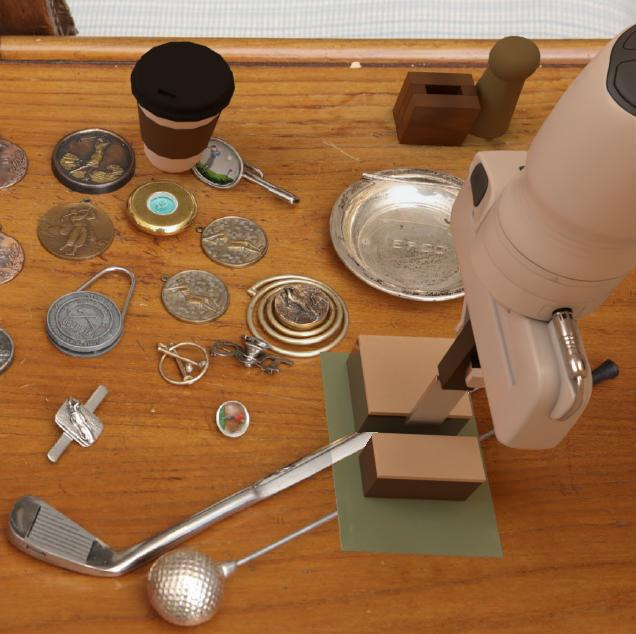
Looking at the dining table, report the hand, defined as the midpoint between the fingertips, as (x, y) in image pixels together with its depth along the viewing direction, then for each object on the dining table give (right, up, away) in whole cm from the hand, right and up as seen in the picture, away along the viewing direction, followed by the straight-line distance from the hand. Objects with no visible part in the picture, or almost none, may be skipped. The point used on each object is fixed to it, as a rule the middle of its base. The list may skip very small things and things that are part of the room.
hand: (470, 358), depth 71 cm
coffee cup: (-20, +22, +34) cm, 45 cm away
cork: (+17, +26, +38) cm, 49 cm away
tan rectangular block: (0, -11, +12) cm, 17 cm away
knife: (0, -6, +9) cm, 11 cm away
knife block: (+10, +25, +37) cm, 46 cm away
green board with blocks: (0, -9, +14) cm, 17 cm away
